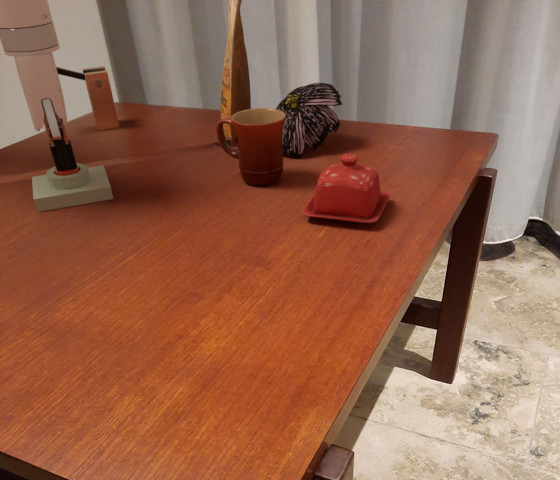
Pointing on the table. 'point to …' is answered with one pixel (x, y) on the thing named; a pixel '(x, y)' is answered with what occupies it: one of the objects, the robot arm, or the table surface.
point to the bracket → (101, 98)
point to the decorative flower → (308, 117)
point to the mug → (256, 144)
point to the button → (67, 172)
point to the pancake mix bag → (235, 72)
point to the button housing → (71, 188)
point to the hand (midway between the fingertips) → (67, 168)
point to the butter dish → (348, 193)
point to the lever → (71, 73)
